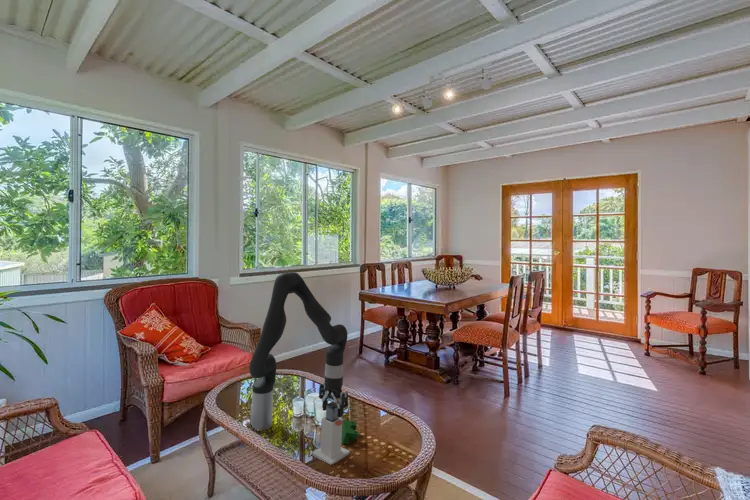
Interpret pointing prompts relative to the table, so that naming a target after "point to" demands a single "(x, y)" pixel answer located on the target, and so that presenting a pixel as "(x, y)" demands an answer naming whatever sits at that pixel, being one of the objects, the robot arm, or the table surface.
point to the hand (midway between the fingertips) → (332, 413)
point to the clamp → (349, 431)
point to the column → (331, 412)
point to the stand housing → (331, 442)
